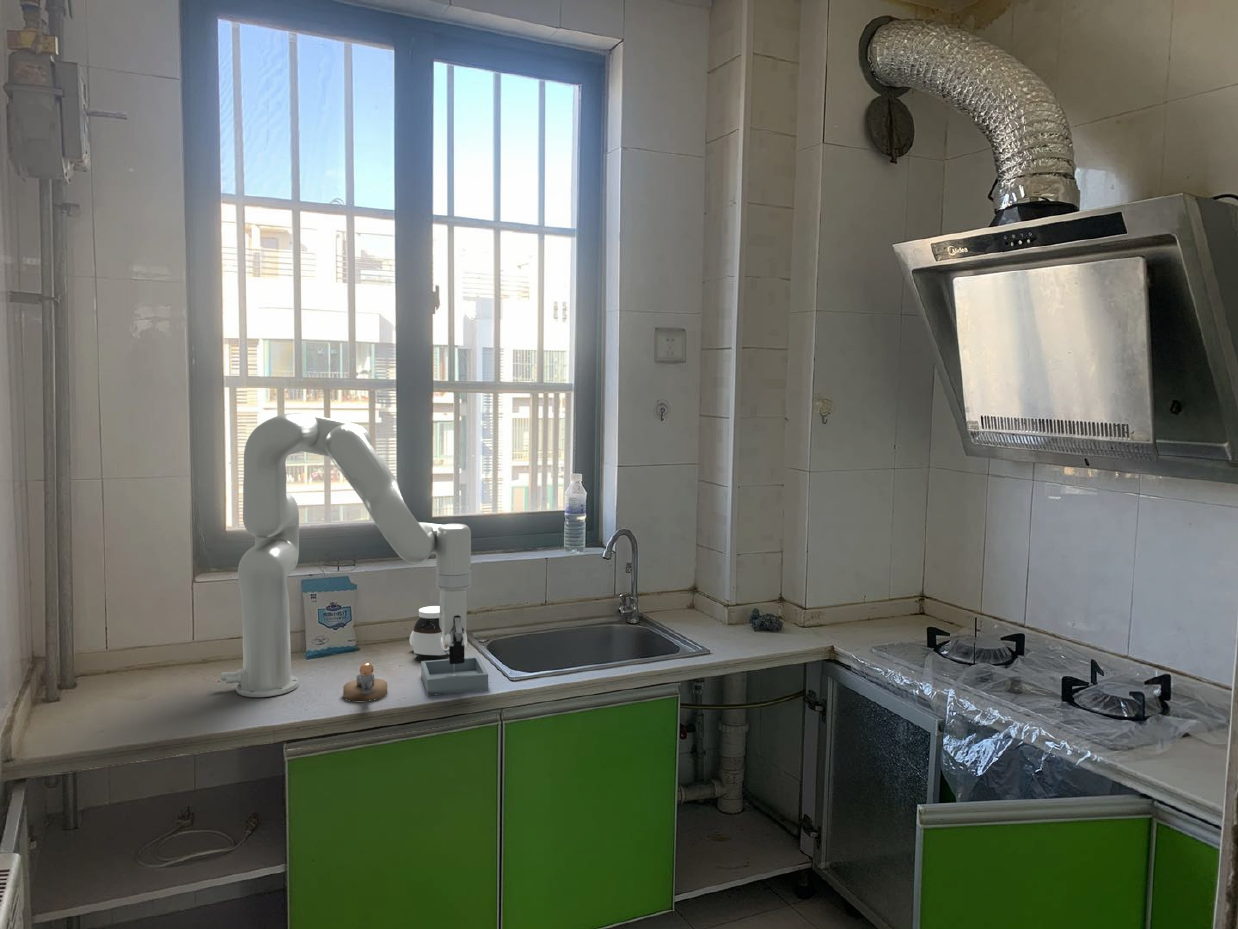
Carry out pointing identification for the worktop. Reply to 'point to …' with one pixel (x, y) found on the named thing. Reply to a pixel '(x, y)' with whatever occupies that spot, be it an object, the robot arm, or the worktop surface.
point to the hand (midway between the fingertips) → (453, 657)
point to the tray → (467, 681)
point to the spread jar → (427, 635)
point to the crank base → (355, 694)
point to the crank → (366, 678)
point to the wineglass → (446, 643)
